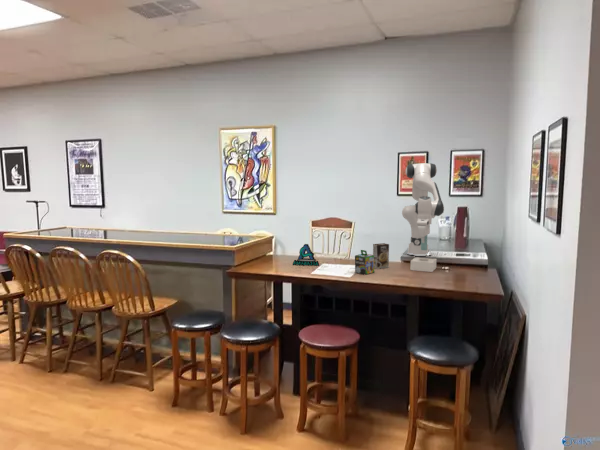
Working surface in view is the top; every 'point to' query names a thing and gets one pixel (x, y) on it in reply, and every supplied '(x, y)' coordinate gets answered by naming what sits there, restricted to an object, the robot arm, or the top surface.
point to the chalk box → (364, 263)
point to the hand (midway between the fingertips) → (424, 242)
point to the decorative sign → (306, 261)
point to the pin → (424, 244)
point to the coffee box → (381, 255)
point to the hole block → (423, 264)
